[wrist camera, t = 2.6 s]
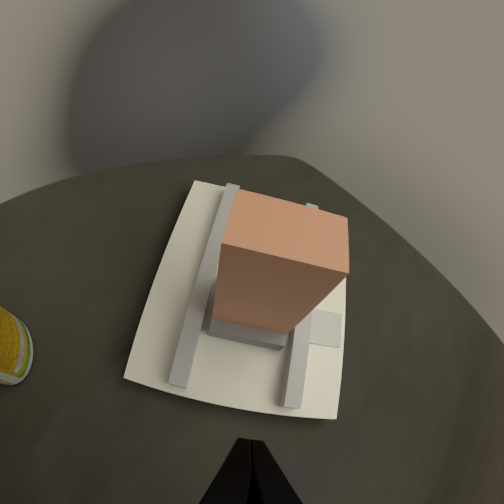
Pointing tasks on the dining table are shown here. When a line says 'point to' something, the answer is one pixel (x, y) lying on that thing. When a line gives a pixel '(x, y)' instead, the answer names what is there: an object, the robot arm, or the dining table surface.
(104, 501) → the dining table surface
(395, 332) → the dining table surface
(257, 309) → the slide tab
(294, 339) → the switch board
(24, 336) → the supplement bottle
